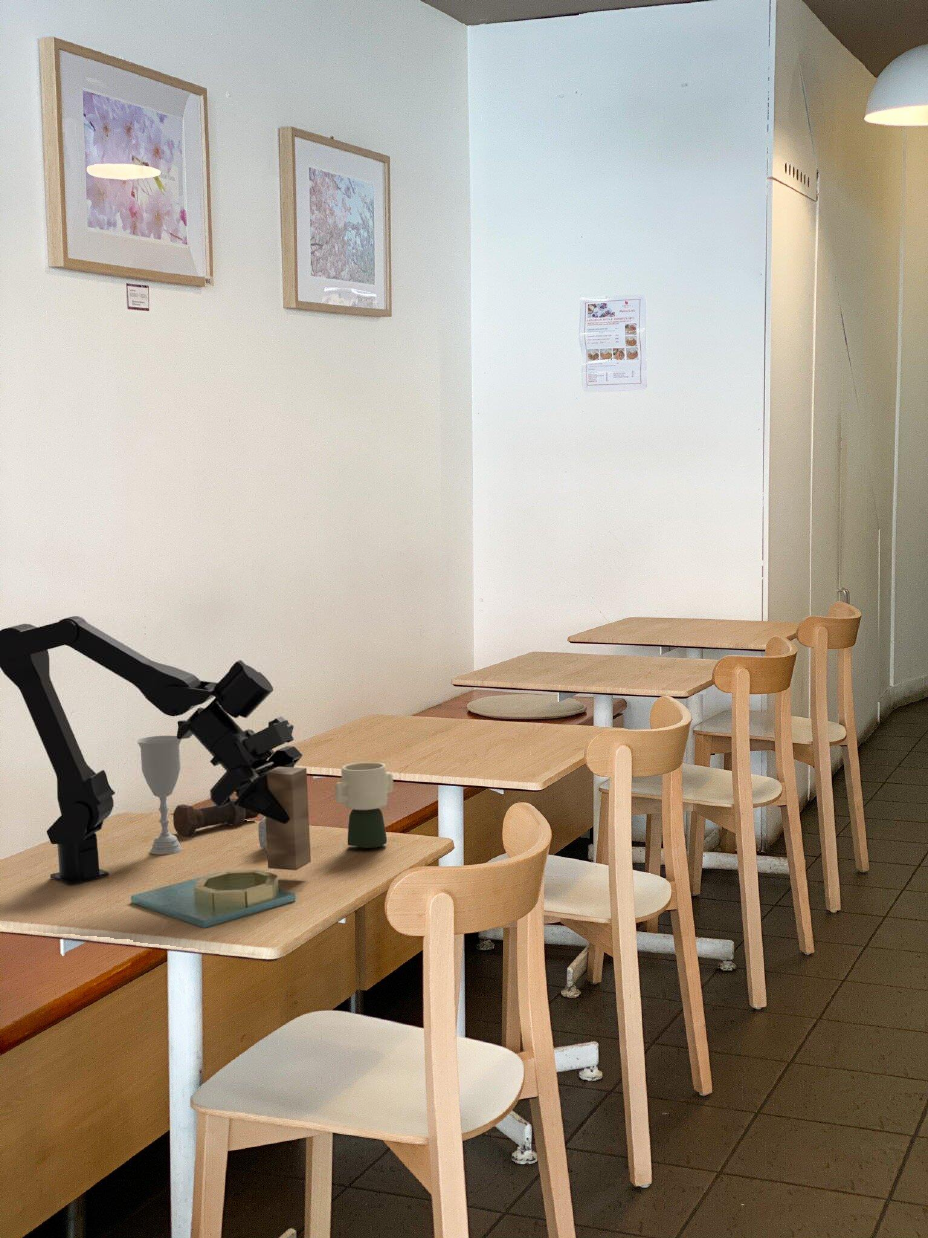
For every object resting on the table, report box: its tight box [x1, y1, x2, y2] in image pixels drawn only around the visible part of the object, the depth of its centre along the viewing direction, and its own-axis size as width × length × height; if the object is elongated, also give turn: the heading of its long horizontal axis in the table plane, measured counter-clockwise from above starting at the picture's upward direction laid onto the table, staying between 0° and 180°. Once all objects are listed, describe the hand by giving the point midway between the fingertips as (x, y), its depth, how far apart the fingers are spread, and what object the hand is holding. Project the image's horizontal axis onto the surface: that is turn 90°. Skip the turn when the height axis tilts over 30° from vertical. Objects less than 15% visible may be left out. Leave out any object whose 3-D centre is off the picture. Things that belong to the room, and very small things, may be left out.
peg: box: [263, 766, 312, 871], centre depth 202 cm, size 5×5×14 cm
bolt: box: [172, 797, 260, 838], centre depth 237 cm, size 6×5×15 cm
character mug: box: [334, 761, 394, 850], centre depth 219 cm, size 11×7×13 cm, turn 130°
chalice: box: [136, 735, 183, 856], centre depth 222 cm, size 7×7×18 cm
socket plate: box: [130, 869, 297, 929], centre depth 193 cm, size 18×15×3 cm
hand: (295, 817), depth 201 cm, fingers closed on peg, 5 cm apart
